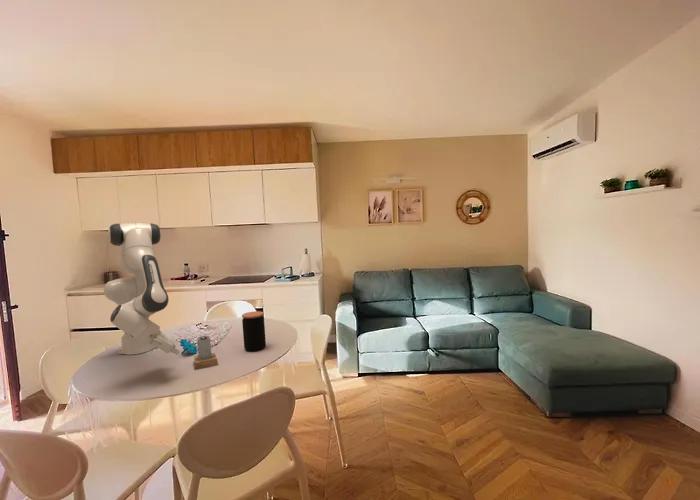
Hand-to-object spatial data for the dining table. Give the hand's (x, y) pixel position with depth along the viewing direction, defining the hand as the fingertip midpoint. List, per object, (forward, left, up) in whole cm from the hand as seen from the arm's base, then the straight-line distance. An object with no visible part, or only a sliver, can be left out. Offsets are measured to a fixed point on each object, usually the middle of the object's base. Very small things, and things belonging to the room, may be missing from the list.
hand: (176, 350), depth 156 cm
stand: (-2, +11, -9) cm, 15 cm away
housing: (-2, +11, -6) cm, 13 cm away
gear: (-23, +5, -10) cm, 25 cm away
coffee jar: (-10, +35, -10) cm, 38 cm away
